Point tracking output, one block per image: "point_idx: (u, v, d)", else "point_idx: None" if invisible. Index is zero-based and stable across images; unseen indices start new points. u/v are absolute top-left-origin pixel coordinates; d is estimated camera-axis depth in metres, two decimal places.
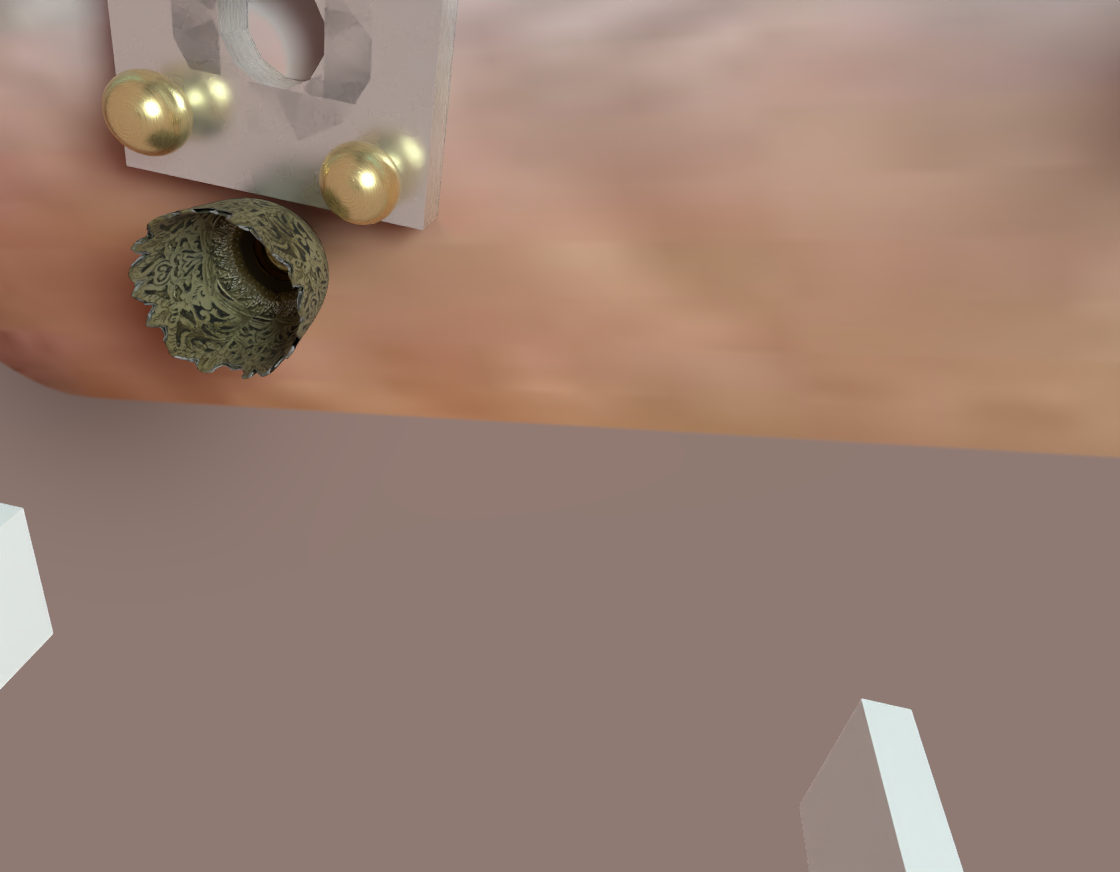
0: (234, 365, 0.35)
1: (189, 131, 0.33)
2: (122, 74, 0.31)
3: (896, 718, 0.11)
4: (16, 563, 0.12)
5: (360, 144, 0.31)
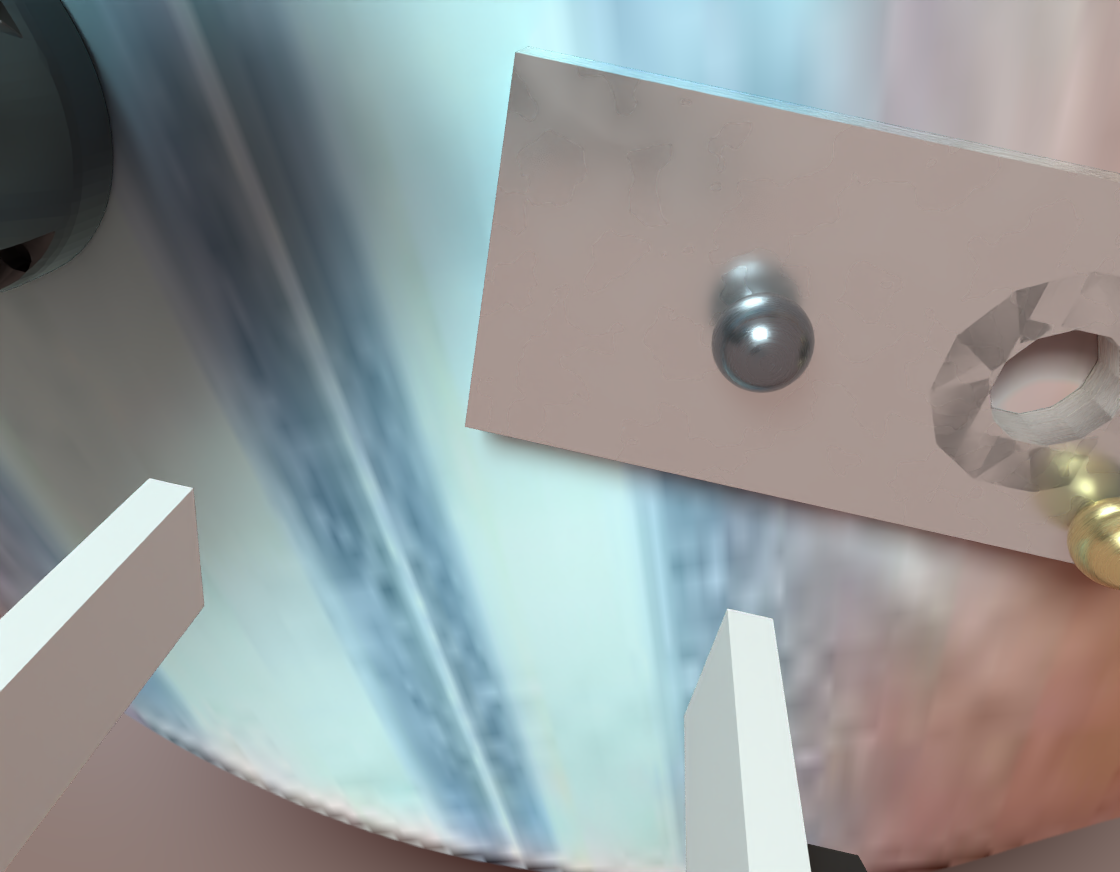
0: None
1: None
2: (1082, 556, 0.28)
3: (757, 625, 0.12)
4: (185, 538, 0.13)
5: None
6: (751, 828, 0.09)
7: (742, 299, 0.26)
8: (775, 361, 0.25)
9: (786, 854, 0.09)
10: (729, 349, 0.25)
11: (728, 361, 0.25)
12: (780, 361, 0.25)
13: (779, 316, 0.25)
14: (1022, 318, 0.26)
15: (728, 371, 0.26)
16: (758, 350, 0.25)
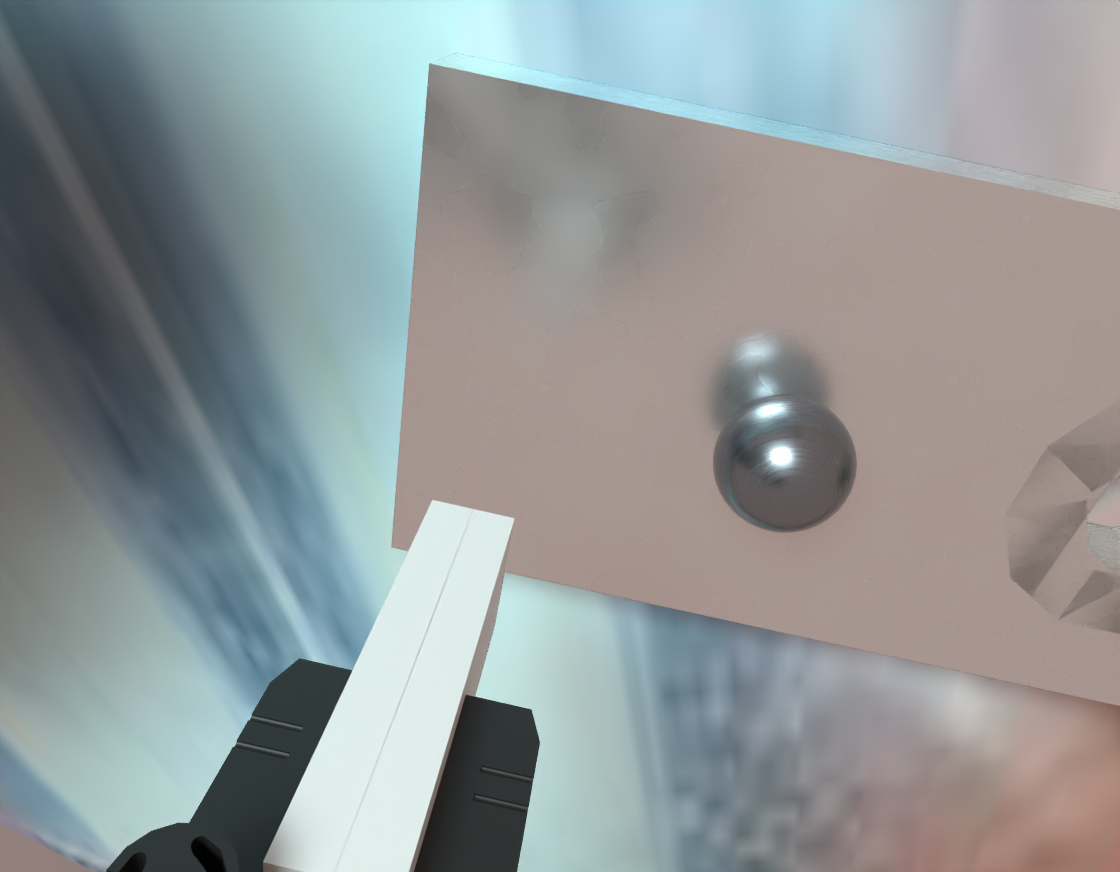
0: None
1: None
2: None
3: (496, 522, 0.13)
4: None
5: None
6: (416, 676, 0.10)
7: (756, 406, 0.18)
8: (804, 500, 0.17)
9: (439, 696, 0.10)
10: (738, 479, 0.18)
11: (737, 495, 0.18)
12: (811, 500, 0.17)
13: (810, 436, 0.17)
14: None
15: (736, 506, 0.18)
16: (780, 485, 0.17)
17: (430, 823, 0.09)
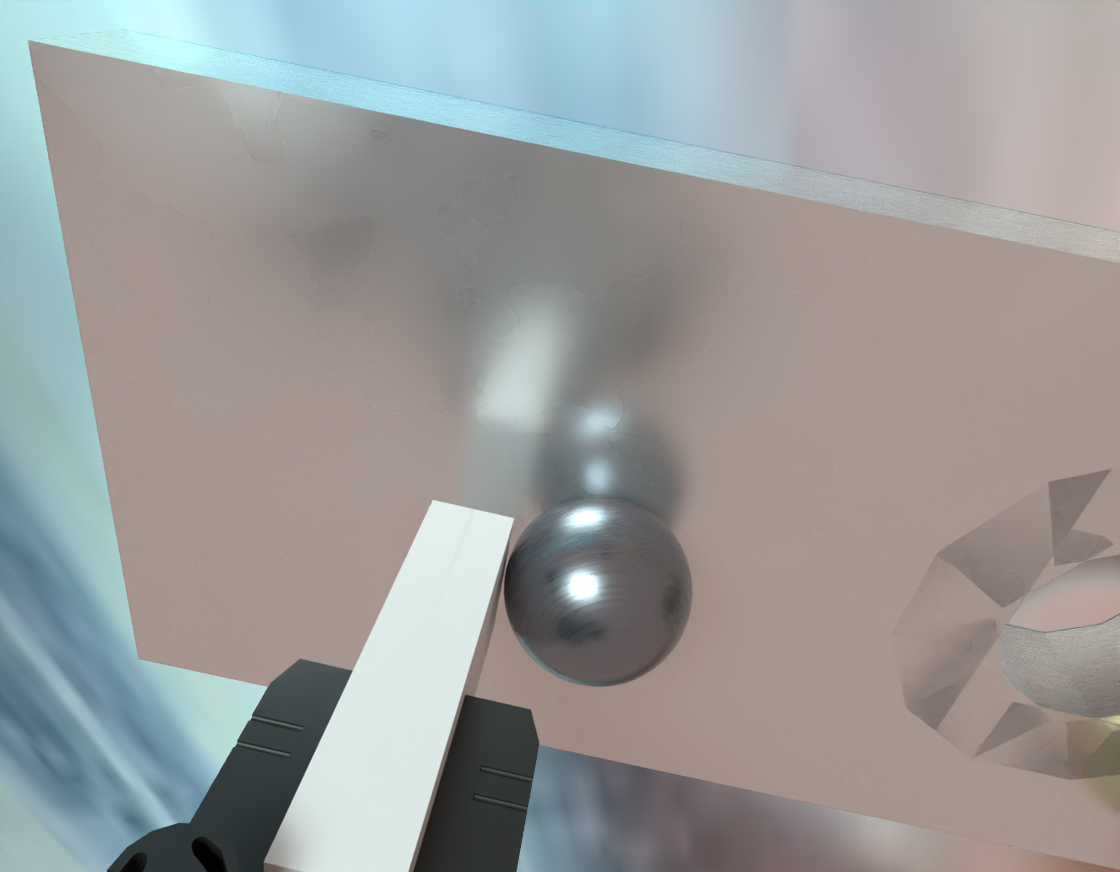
0: None
1: None
2: None
3: (496, 522, 0.13)
4: None
5: None
6: (415, 676, 0.10)
7: (550, 525, 0.13)
8: (627, 656, 0.13)
9: (439, 696, 0.10)
10: (536, 635, 0.13)
11: (539, 654, 0.13)
12: (636, 654, 0.13)
13: (624, 568, 0.12)
14: (1059, 527, 0.14)
15: (540, 664, 0.13)
16: (592, 642, 0.12)
17: (430, 823, 0.09)
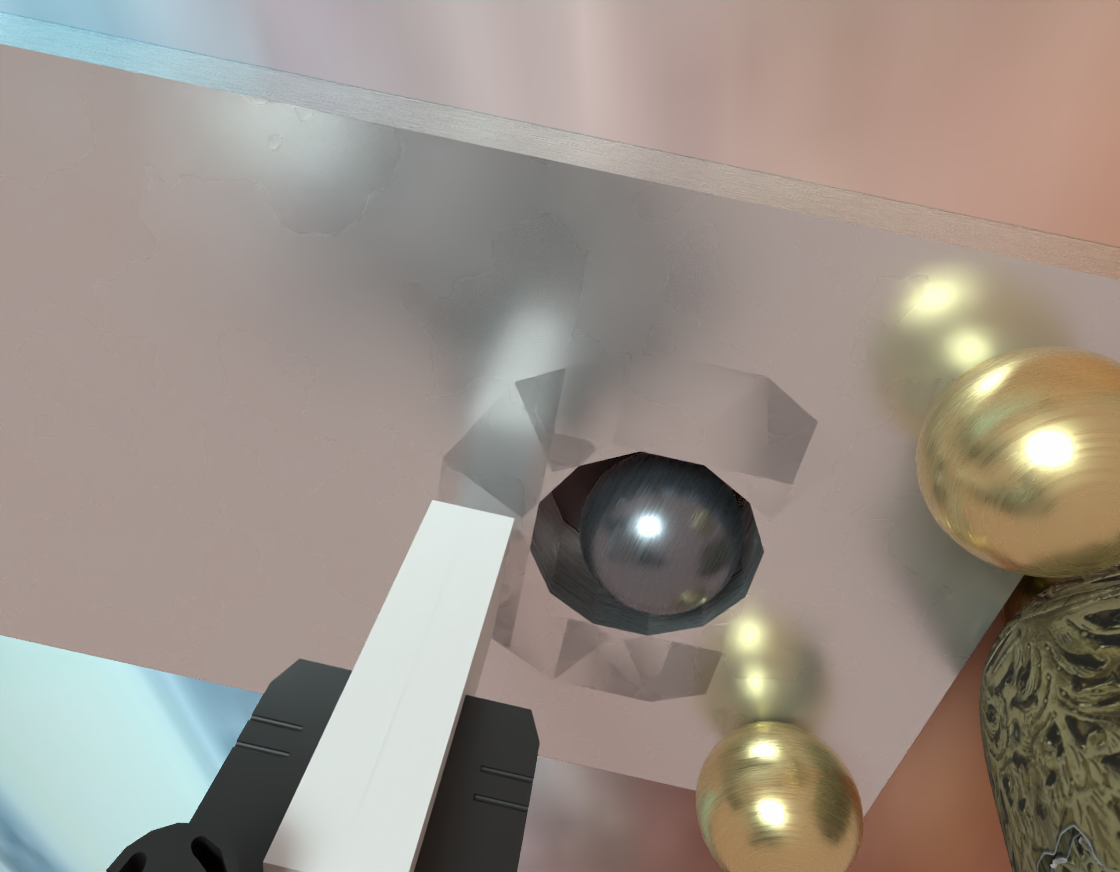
0: None
1: (822, 755, 0.16)
2: (703, 834, 0.16)
3: (496, 522, 0.13)
4: None
5: (938, 446, 0.11)
6: (416, 676, 0.10)
7: (651, 521, 0.14)
8: (739, 559, 0.16)
9: (439, 696, 0.10)
10: (690, 600, 0.15)
11: (688, 609, 0.15)
12: (740, 553, 0.16)
13: (724, 509, 0.15)
14: (541, 430, 0.14)
15: (678, 613, 0.16)
16: (730, 572, 0.15)
17: (430, 823, 0.09)
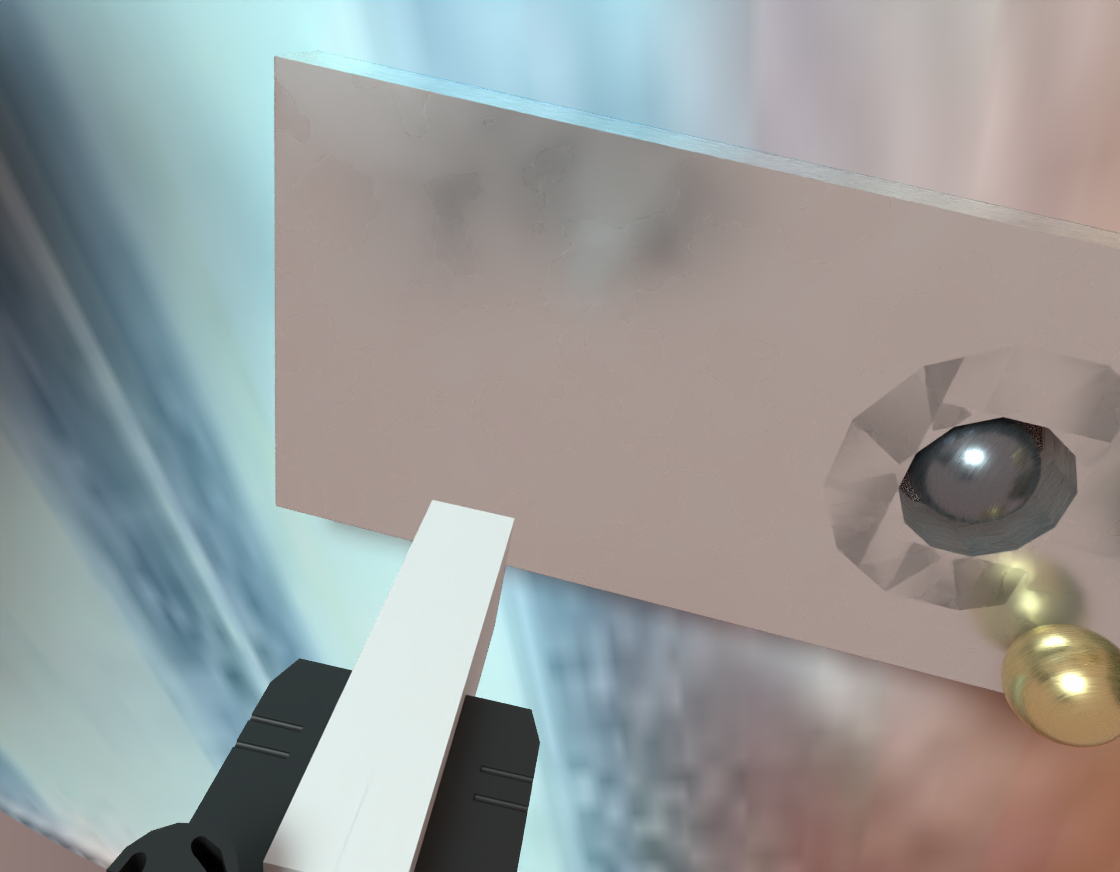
0: None
1: (1110, 643, 0.22)
2: (1016, 700, 0.22)
3: (496, 522, 0.13)
4: None
5: None
6: (416, 676, 0.10)
7: (972, 431, 0.21)
8: (1034, 489, 0.21)
9: (439, 696, 0.10)
10: (994, 496, 0.21)
11: (989, 508, 0.21)
12: (1036, 486, 0.21)
13: (1029, 439, 0.21)
14: (933, 400, 0.21)
15: (980, 516, 0.21)
16: (1028, 487, 0.21)
17: (430, 823, 0.09)
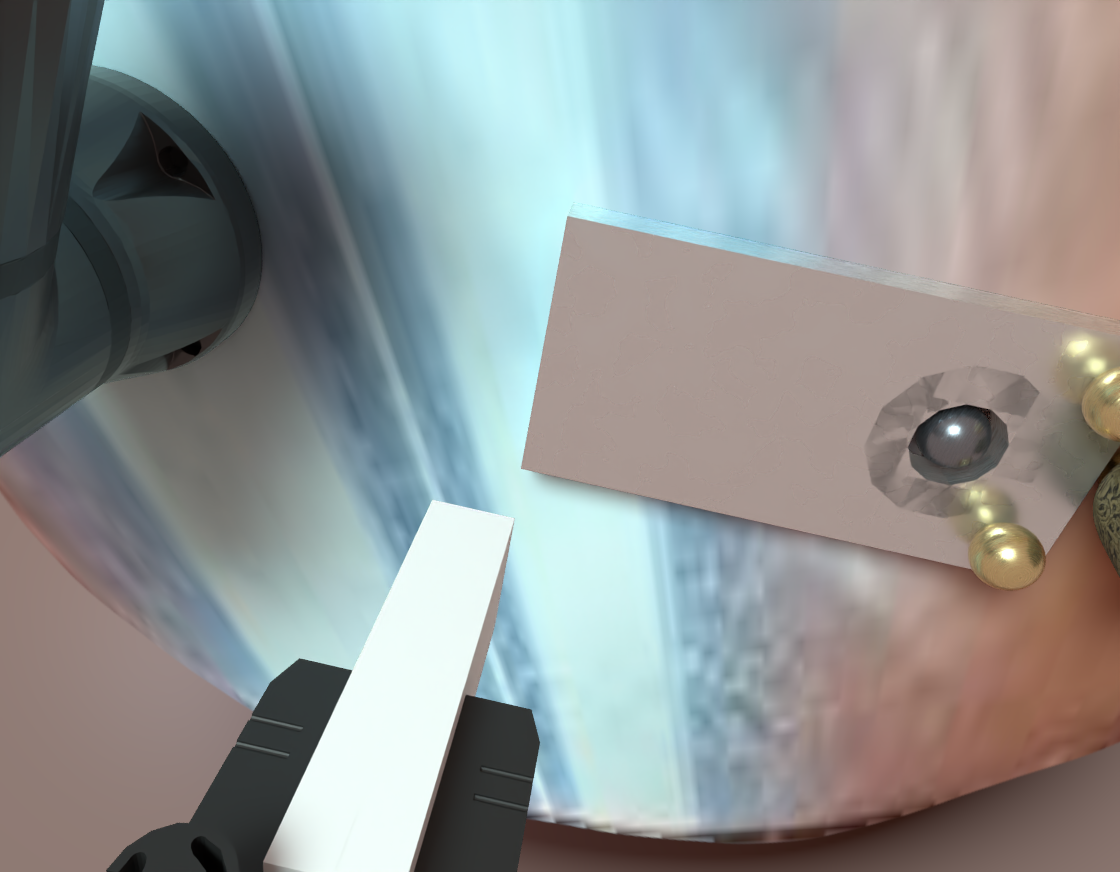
0: None
1: (1028, 530, 0.38)
2: (976, 566, 0.38)
3: (496, 522, 0.13)
4: None
5: (1094, 398, 0.34)
6: (416, 676, 0.10)
7: (956, 419, 0.37)
8: (988, 447, 0.38)
9: (439, 696, 0.10)
10: (968, 455, 0.37)
11: (966, 461, 0.37)
12: None
13: (985, 420, 0.37)
14: (927, 396, 0.37)
15: (960, 465, 0.38)
16: (986, 447, 0.37)
17: (430, 823, 0.09)
